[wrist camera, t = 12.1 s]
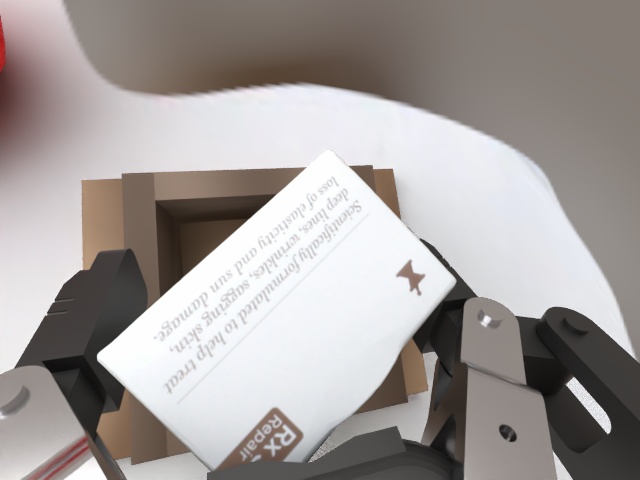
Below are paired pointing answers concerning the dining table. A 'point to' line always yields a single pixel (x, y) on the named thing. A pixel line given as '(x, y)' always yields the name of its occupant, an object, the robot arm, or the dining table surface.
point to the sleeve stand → (187, 252)
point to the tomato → (2, 47)
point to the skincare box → (283, 323)
